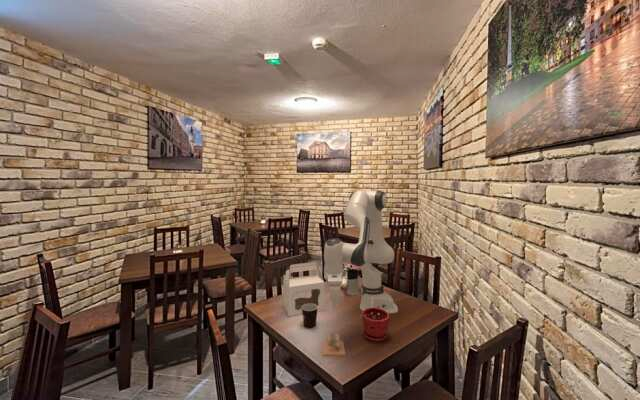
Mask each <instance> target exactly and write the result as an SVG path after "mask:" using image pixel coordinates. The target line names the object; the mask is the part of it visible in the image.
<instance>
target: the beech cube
mask: <svg viewBox="0 0 640 400" xmlns="http://www.w3.org/2000/svg"><path fill="white" fill-rule="evenodd" d="M339 335H340V334H339V333H327V341H328V351H339V341H340V336H339Z"/></svg>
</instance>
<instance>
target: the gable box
mask: <svg viewBox="0 0 640 400" xmlns="http://www.w3.org/2000/svg"><path fill="white" fill-rule="evenodd" d="M321 269H322V268H321V266H318V264H317V262H316V261H312V262H311V261H310V262H302V263H301V262H300V263H294V264H290V265H289V269H287V270H285V275H284V277H283V280H282V281H283V284H282V285H283V288H282V289H283V308H284V310H285V311H286V313H287V316H288V317H294V316H299V315H302V306H303V305H305V304H315V305H317V306H318V309H317V313H318V312H323V311H325V280H324V277H323V275H322V271H321ZM306 271H315V274H313V275H305V276H298V277H297V276H296V277H292V276H291V274H292V273H298V272H306ZM299 291H300V292H301V291H304V292H305V291H306V292H307V291H310V292H311V296H310V297H298V298H296V299H295V298H294V294H295V293H296V292H299Z"/></svg>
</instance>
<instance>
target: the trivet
mask: <svg viewBox="0 0 640 400" xmlns="http://www.w3.org/2000/svg"><path fill="white" fill-rule="evenodd" d="M321 343H322V357H337V356H339V357H342V356H343V357H345V356H346V349H345V343H344V341H343V340H339V351H328V340H326V341H324V340H322V342H321Z"/></svg>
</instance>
